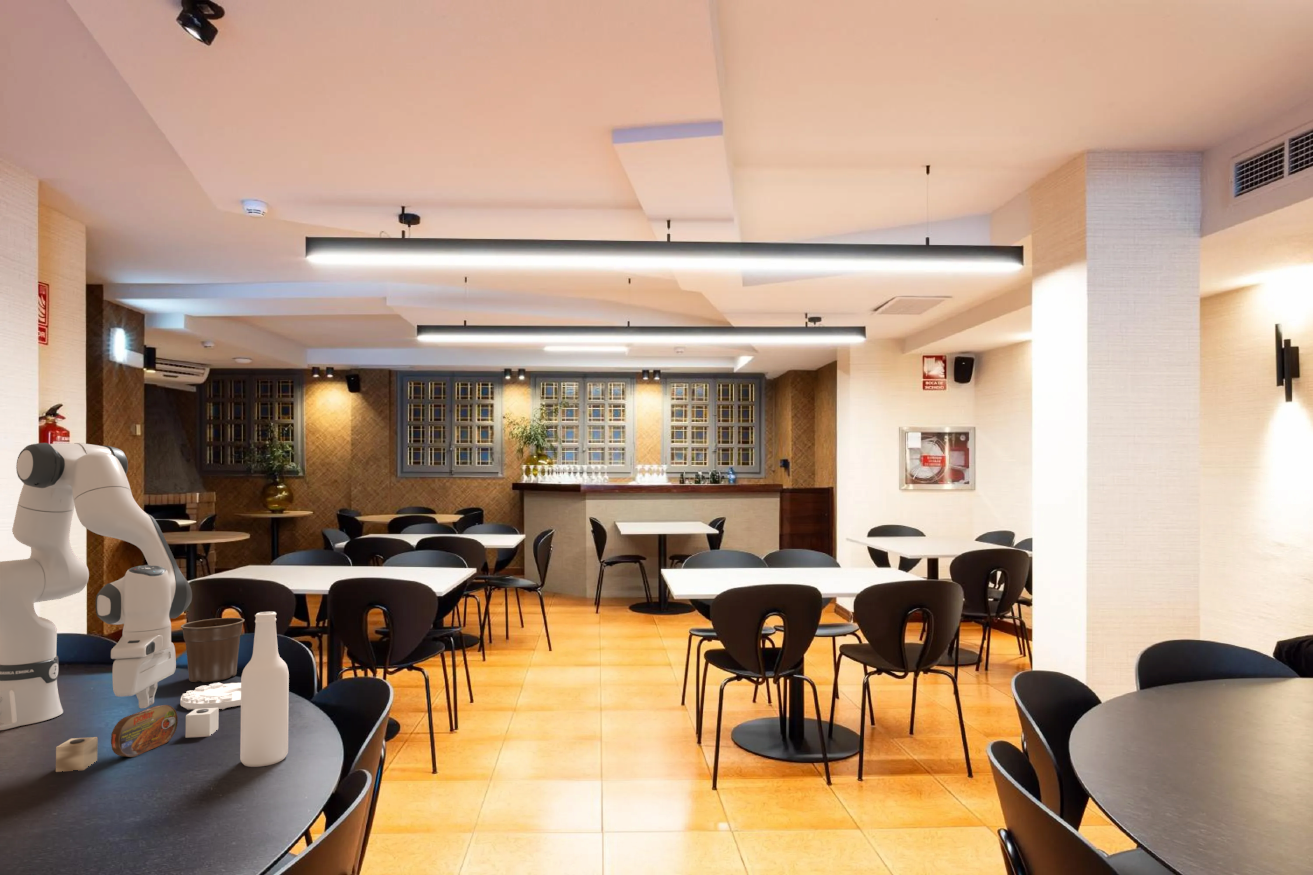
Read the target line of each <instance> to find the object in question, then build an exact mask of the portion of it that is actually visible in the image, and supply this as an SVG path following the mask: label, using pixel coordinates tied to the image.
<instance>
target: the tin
mask: <svg viewBox="0 0 1313 875" xmlns="http://www.w3.org/2000/svg"><path fill="white" fill-rule="evenodd" d="M178 718H179V716H178V713H177V711H176V709H175V708H174V707H173V706H172V705H170V704H169V705H168V704H163V705H154V706H151V707H147V708H145V709H144V710H142V711H137V712H136V713H133V714H130V715H127V716H125V717H123V718H121V719H120V720H119V721H118V722H117V723H116V725H114V727H113V729H112V731H111V734H110V735H111V736H110V744H111V745H110V746H111V750H112V752H113V753H114V754H115V755H117V756H118V757H123V758H124V757H125V758H126V757H127V758H134V757H137V756H139V755H142V754H144V753H146V752H149V751H151V750H153V749H156V748H158V747H160V746H163V745H165V744H167V743H168V742H169V741H170V740H172V738H173V737H174V735H175V733H176V731H177V727H178V722H179V719H178Z"/></svg>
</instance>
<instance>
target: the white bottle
mask: <svg viewBox="0 0 1313 875" xmlns="http://www.w3.org/2000/svg"><path fill="white" fill-rule="evenodd" d="M254 617H255V620H254V623H255V626H254V627H255V628H254V638H253V648H252V655H251V658H250V660H249V661H248V663H247V664H246V665H245V667H244V668H243V670H242V673H241V677H240V683H241V705H240V743H239V744H240V751H239V753H240V756H239V758H240V762H241V763H242V764H243V765H244V766H245V767H249V768H259V767H260V768H261V767H265V766H271V765H274V764H277V763H281V762H282V761H283V760H285V758H286V757H287V755H288V753H289V709H290V708H289V706H290V705H289V704H290V703H289V699H290V697H289V696H290V695H289V694H290V692H289V691H290V690H289V689H290V688H289V687H290V686H289V685H290V684H289V683H290V679H289V678H290V674H289V668H288V664H287V663H286V661H285V660H283V658H282V657H280V654H279V649H278V648H279V646H278V637H277V636H278V635H277V623H276V622H277V618H276V617H277V612H276V611H260V612H257V613H256V614H254Z"/></svg>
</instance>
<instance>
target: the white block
mask: <svg viewBox="0 0 1313 875" xmlns="http://www.w3.org/2000/svg"><path fill="white" fill-rule="evenodd" d="M219 711H220V710H219V708H203V709H192V710H191V711H190V712H188V713H187V714H186V715H185V738H187V739H188V738H204V737H210V736H212V735H213V734H214V733H215V732H217V731H218V730H219V721H220V720H219V716H220V715H219ZM216 730H217V731H216ZM211 734H212V735H211Z"/></svg>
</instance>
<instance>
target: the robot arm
mask: <svg viewBox="0 0 1313 875" xmlns="http://www.w3.org/2000/svg"><path fill="white" fill-rule="evenodd" d="M15 467H16V468H15V469H16V474H17V478H18V479H19V480H20V481H21V482H22V483H23V486H22V488H21V490H20V491H21V492H20V494H19V498H18V502H17V506H16V511H15V515H14V519H13V525H12V529H11V531H12V535H13V537H14V538H15V539H16V541H17V542H19V543H21V544H23V545H24V546H26V547H29V548H30V549H31V550H30V551H31V552H30V556H29V558H23V559H14V560H13V559H12V560H4V561H0V731H4V730H5V731H6V730H9V729H13V728H17V727H20V726H21V727H22V726H25V725H26V726H27V725H31V724H36V723H40V722H44V721H47V720H50V719H53V718H56V717H58V716H61V715H62V714H63V713H64V709H63V706H62V704H61V700H60V695H59V690H58V677H59V656H58V655H57V644H58V643H57V642H58V641H57V640H58V639H57V638H58V629H57V626H56V625H55V624H54V623H53V621H52V620H49V619H48V618H44V617H42V616H38V615H37V613H36V610H35V606H34V605H35V603H41V602H48V601H54V600H56V601H57V600H59V599H65V598H67V597H70V596H73V595H76V594H78V593H80V592H82V591H83V590H84V589H85V588H86V586H87V584H88V582H89V577H90V571H89V568H88V565H87V563H86V562H84V560H83V559H82V558H80V557H79V556H78V555H76V554H75V553H74V551H73V549H72V545H71V542H70V534H71V533H70V532H71V527H72V526H71V525H72V520H73V514H74V509H75V512H76V515H77V518H78V520H79V522H80V524H81V525H82V527H84V528H85V529H87V530H88V531H90V532H92V533H93V534H94V533H95V534H96V535H100V536H103V537H107V538H113V539H118V540H120V541H123V542H127V543H130V544H131V545H134V546H136V547H137V548H138V549H139V550H140V551H141V553H142V554H143V556H144V558H145V560H146V562H147V565H137V566H134V567H131V568H129V569H127V571H126V572H125V574H124V576H123V577H120V578H118V580H115V581H112V582H109V583H108V582H107V583H106V584H105V585H103V587H102V588H101V589H100V590H99V591H98V593H97V594H96V597H95V613H96V614H95V615H96V616H97V618H99V619H100V620H101V621H102V622H103V623H105V624H108V625H123V628H122V636H121V637H120V639H119V641H118V642H117V643H116V644H115V645H114V646H113V648H111V650H110V659H112V660H114V661H113V664H112V675H111V676H112V689H113V690H112V691H113V693H114V695H115V696H116V697H119V698H121V697H133V696H135V695H136V698H137V700H138V708H140V709H148V708H150V706H152V705H153V704H154V703H155V695H156V692H157V689H158V683H159V682H160V681H162V680H164V679H166V678H168V677H170V676H172V675H174V673H175V672H176V667H177V662H176V647H175V645H174V644H175V643H173V642H172V622H171V619H176V618H178V617H180V616H181V615H182V614H183V613H184V612H185V611H186V610H187V609H188V607H189V606H190V604H191V603H192V599H193V592H192V591H193V590H192V588H191V585H190V583H189V581H188V580H187V578H186V577H185V576H184V574H183V573H182V571H181V569H180V568H179V566H178V564H177V561H176V558H174V554H173V553H172V551H171V549H170V546H169V544H168V542H167V540H166V538H165V535H164V534H163V532H162V530H161V527H160V525H159V523H158V522H157V521H156V519H155V517H153V515H151V514H149V513H147V512H146V511H144V510H143V509H142V508H141V507H140V506H139V504H138V503H137V501H136V500H135V498H134V496H133V493H132V489H131V486H130V482H129V479H128V477H127V476H128V475H127V474H128V470H129V460H128V458H127V456H126V454H125V452H124V451H123V450H121V449H120V448H118V447H114V446H111V445H105V444H104V445H98V444H90V443H84V442H83V443H80V442H75V443H67V442H66V443H48V442H39V443H37V442H36V443H32V444H28V445H26V446H25V447H24V448H23V449H22V450H21V451H20V452H19V454H18V456H17V459H16V466H15Z"/></svg>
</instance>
